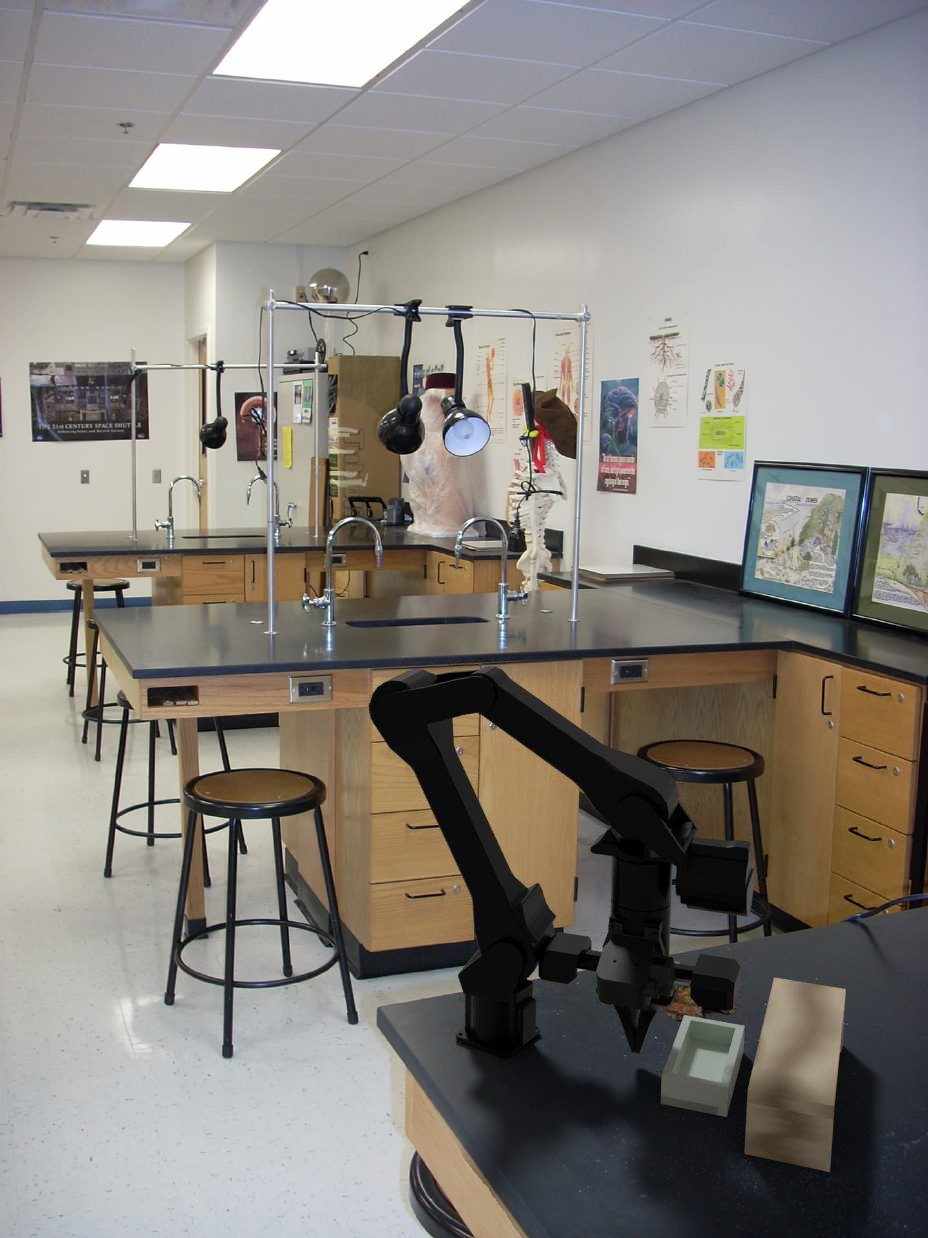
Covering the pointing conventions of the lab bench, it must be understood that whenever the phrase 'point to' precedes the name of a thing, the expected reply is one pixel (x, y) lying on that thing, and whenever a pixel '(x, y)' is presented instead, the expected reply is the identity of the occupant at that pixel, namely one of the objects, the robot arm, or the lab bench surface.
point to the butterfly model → (686, 1006)
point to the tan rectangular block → (796, 1075)
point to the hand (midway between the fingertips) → (636, 1051)
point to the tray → (703, 1066)
